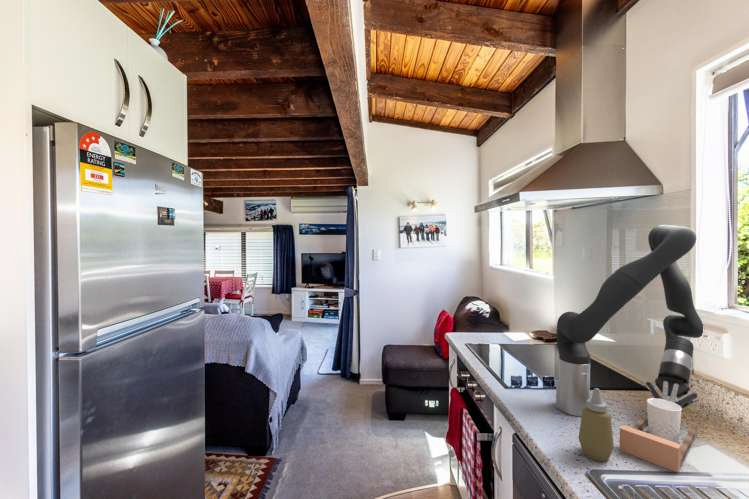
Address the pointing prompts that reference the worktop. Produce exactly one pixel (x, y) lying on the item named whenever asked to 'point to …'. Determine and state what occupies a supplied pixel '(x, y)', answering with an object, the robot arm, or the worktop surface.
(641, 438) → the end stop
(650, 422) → the white cup
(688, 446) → the rails
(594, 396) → the squeeze bottle
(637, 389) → the worktop surface
